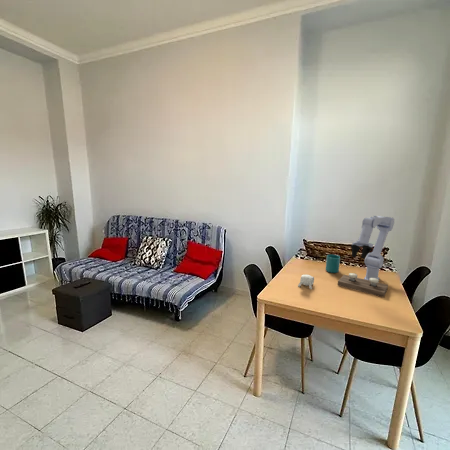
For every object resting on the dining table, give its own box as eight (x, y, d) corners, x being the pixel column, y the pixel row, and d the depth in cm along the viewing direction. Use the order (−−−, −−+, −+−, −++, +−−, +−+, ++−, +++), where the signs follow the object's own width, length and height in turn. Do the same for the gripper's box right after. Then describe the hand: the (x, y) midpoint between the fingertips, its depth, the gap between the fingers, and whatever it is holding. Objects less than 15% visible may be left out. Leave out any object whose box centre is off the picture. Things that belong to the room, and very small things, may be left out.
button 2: (369, 283, 169) (370, 277, 168) (378, 285, 166) (379, 279, 165) (367, 285, 165) (368, 279, 164) (377, 288, 162) (377, 281, 161)
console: (343, 278, 183) (344, 274, 183) (387, 289, 167) (388, 284, 167) (337, 285, 172) (337, 280, 172) (383, 297, 157) (384, 292, 156)
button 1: (349, 278, 176) (350, 272, 176) (357, 280, 173) (358, 274, 172) (347, 280, 173) (347, 274, 172) (355, 282, 169) (356, 276, 169)
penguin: (300, 286, 177) (295, 286, 164) (302, 273, 178) (297, 272, 165) (314, 289, 173) (309, 289, 160) (316, 276, 174) (311, 275, 161)
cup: (339, 268, 201) (341, 254, 199) (337, 274, 191) (339, 259, 189) (327, 266, 206) (328, 252, 203) (324, 271, 195) (325, 257, 193)
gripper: (351, 233, 170) (344, 253, 168) (369, 234, 156) (361, 256, 154) (359, 238, 171) (353, 258, 170) (378, 238, 157) (371, 260, 156)
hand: (357, 257), depth 162 cm, fingers open, 7 cm apart
